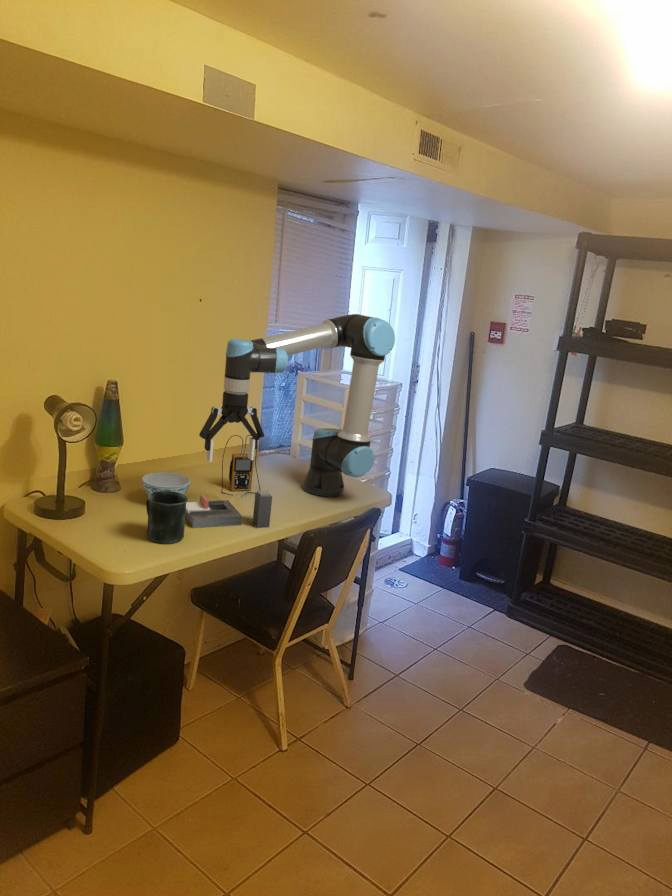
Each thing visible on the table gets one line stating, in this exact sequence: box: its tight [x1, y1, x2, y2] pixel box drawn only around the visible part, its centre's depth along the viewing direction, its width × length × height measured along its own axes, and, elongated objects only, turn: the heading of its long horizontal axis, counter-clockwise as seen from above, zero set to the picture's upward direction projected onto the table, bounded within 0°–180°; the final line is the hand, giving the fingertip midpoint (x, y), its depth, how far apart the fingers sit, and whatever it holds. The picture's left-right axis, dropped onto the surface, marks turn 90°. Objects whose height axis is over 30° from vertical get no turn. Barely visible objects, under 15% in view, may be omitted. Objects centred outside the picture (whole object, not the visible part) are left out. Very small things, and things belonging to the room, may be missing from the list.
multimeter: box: [221, 434, 261, 498], centre depth 238 cm, size 15×10×20 cm
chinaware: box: [141, 471, 191, 496], centre depth 222 cm, size 15×15×8 cm
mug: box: [145, 491, 189, 545], centre depth 196 cm, size 11×15×12 cm
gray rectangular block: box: [252, 490, 273, 529], centre depth 212 cm, size 4×4×11 cm
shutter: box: [186, 494, 210, 513], centre depth 212 cm, size 7×7×3 cm
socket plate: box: [185, 499, 243, 529], centre depth 214 cm, size 15×14×4 cm
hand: (230, 459), depth 213 cm, fingers open, 13 cm apart
